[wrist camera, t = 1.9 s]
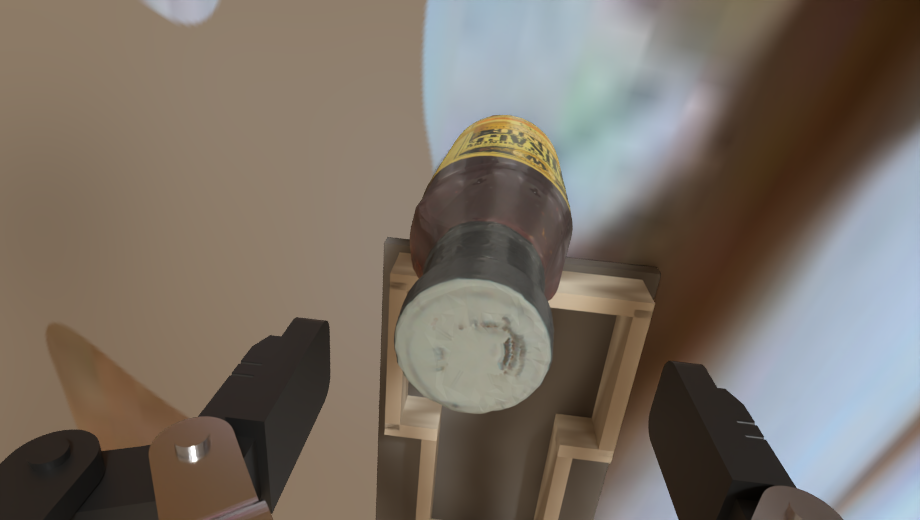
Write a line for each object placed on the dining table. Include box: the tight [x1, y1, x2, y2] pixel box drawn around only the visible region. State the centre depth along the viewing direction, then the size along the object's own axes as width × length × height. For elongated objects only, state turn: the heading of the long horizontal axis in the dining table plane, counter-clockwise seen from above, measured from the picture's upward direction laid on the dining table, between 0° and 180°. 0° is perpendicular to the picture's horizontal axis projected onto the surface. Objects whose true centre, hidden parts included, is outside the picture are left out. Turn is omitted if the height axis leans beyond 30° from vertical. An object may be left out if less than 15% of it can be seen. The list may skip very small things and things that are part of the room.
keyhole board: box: [376, 237, 661, 520], centre depth 37 cm, size 17×25×4 cm
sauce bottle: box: [394, 115, 573, 414], centre depth 22 cm, size 7×6×20 cm
